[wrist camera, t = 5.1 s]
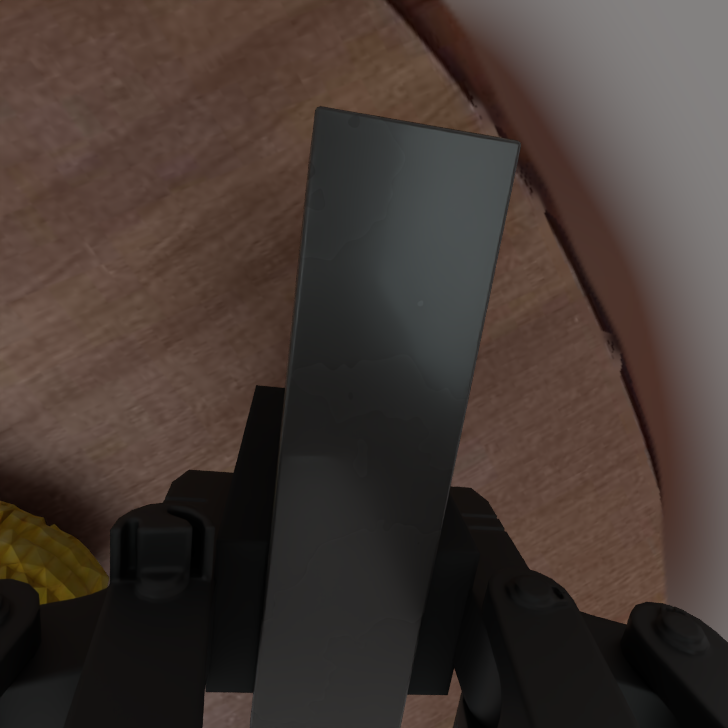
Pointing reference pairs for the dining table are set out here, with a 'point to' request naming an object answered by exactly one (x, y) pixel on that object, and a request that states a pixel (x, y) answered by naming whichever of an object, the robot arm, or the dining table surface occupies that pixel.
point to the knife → (373, 408)
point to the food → (46, 557)
